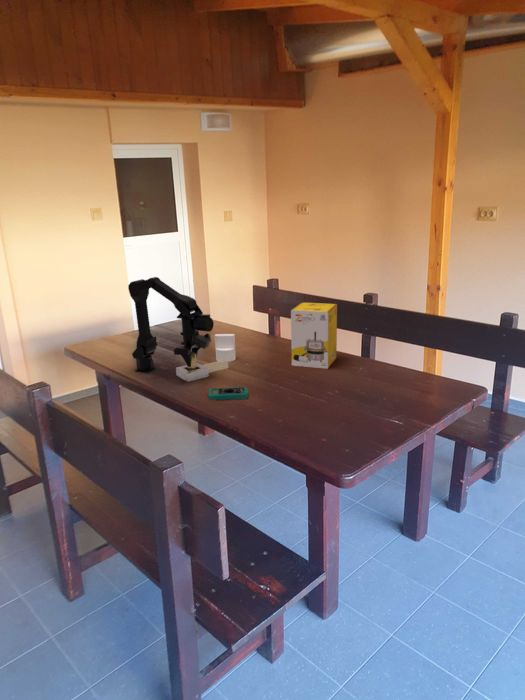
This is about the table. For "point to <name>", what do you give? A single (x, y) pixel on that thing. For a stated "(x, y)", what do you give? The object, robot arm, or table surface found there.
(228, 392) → the digital multimeter
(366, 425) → the table surface
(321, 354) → the packaging box
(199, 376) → the square frame with handle
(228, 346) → the base with upright slab
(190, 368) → the brown mottled cylinder
